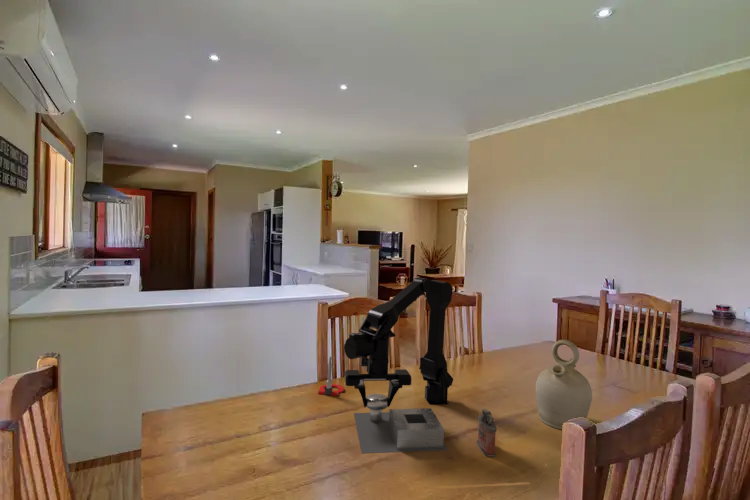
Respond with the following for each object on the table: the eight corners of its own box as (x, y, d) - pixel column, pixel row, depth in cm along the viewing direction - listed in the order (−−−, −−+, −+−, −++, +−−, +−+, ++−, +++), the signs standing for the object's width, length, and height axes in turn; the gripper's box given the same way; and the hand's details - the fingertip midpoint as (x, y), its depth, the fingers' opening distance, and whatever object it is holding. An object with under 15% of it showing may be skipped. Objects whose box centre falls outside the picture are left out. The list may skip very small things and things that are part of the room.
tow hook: (323, 386, 144) (315, 395, 134) (325, 349, 144) (317, 356, 135) (346, 388, 142) (340, 398, 133) (348, 352, 142) (342, 358, 133)
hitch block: (430, 425, 116) (430, 408, 115) (443, 448, 104) (444, 428, 103) (388, 426, 114) (389, 409, 114) (396, 449, 102) (397, 430, 102)
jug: (566, 438, 112) (572, 349, 111) (522, 415, 126) (527, 335, 125) (601, 428, 119) (607, 344, 118) (556, 407, 133) (561, 331, 132)
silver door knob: (385, 415, 121) (385, 393, 121) (388, 425, 115) (389, 402, 114) (363, 415, 120) (364, 393, 120) (366, 426, 114) (367, 403, 113)
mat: (425, 412, 125) (425, 411, 125) (448, 451, 103) (448, 450, 103) (353, 414, 122) (353, 413, 121) (361, 454, 100) (361, 453, 100)
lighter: (474, 442, 108) (476, 405, 108) (486, 442, 108) (488, 405, 108) (484, 459, 100) (486, 419, 100) (498, 458, 100) (500, 419, 100)
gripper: (404, 345, 126) (402, 394, 127) (344, 345, 123) (342, 395, 124) (413, 356, 115) (410, 410, 116) (347, 356, 112) (344, 412, 113)
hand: (376, 406), depth 117 cm, fingers closed on silver door knob, 6 cm apart
